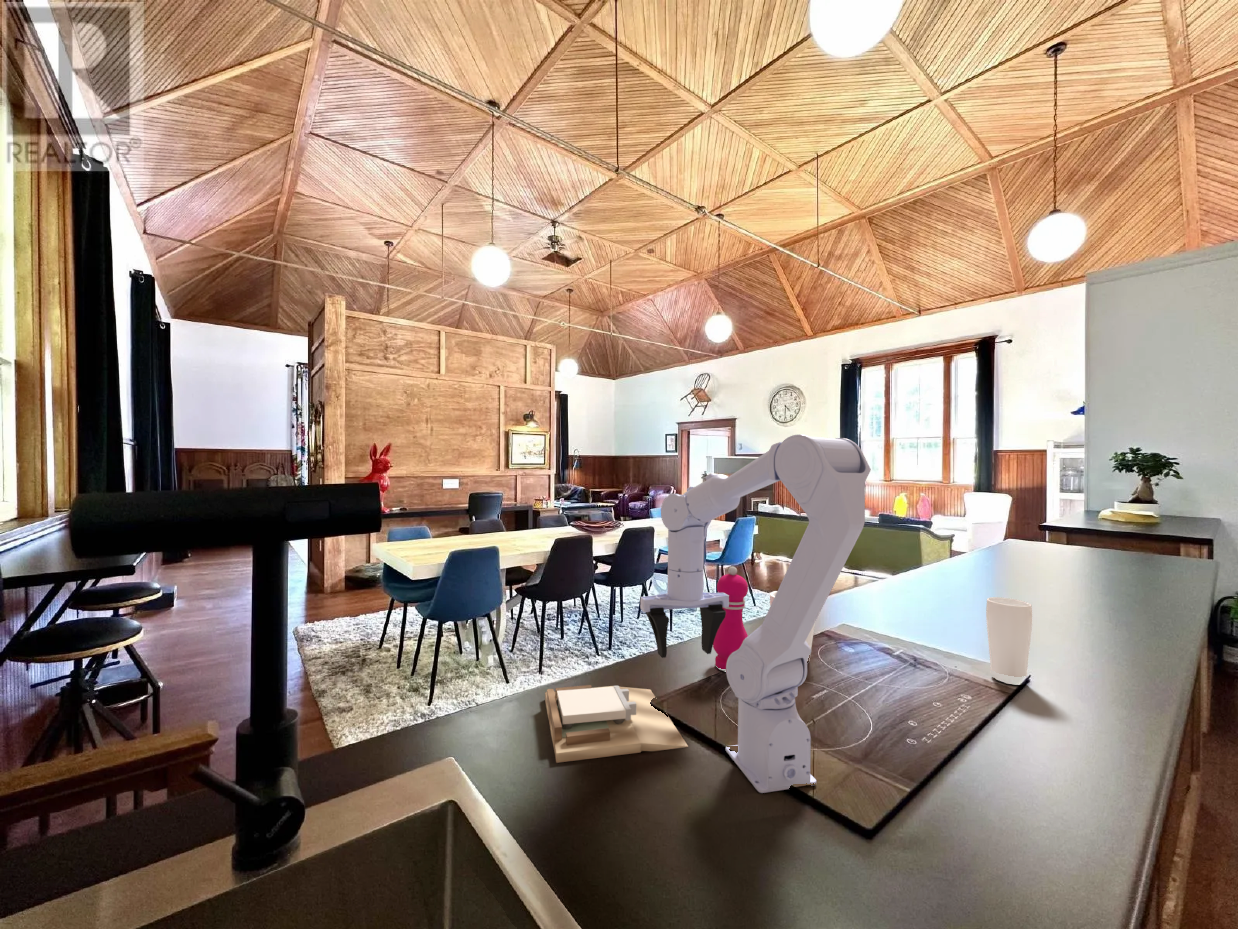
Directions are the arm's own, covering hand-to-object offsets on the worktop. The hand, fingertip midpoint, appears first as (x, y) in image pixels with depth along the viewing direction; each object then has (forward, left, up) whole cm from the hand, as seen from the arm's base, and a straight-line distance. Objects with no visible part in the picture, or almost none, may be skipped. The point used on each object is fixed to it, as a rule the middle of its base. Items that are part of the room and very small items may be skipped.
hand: (684, 653), depth 78 cm
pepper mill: (+15, -16, -10) cm, 24 cm away
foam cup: (+17, -31, -10) cm, 36 cm away
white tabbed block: (0, +15, -8) cm, 17 cm away
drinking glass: (-1, -65, -10) cm, 65 cm away
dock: (0, +12, -10) cm, 16 cm away
